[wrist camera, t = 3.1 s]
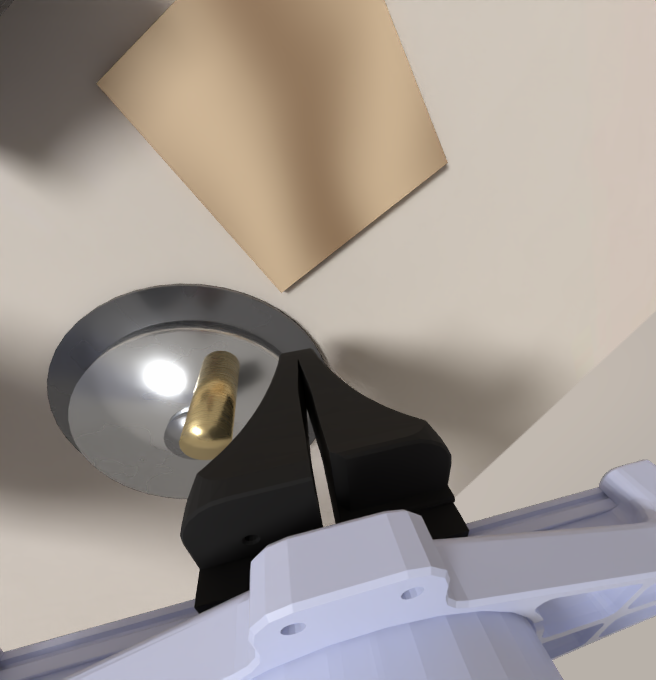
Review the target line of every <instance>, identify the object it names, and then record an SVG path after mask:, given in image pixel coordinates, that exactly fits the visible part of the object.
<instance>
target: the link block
mask: <svg viewBox="0 0 656 680" xmlns="http://www.w3.org/2000/svg"><path fill="white" fill-rule="evenodd" d="M13 1H14V0H0V16H1V15H2V14H3V12H4V11H5V10H6V9H7V8H8V7H9V6H10V4H11V3H12V2H13Z"/></svg>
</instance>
